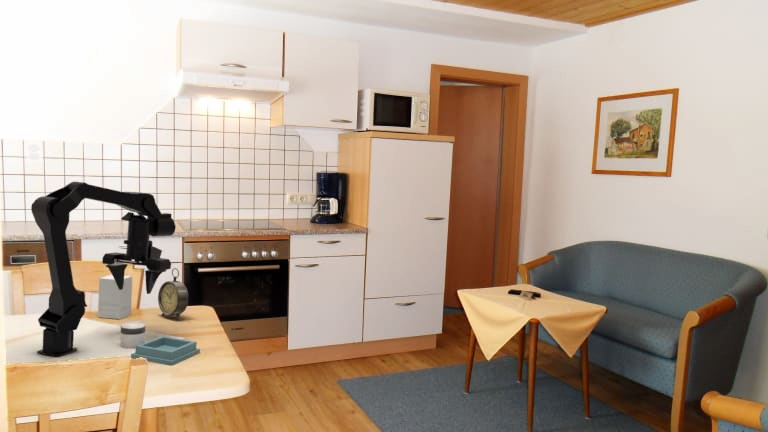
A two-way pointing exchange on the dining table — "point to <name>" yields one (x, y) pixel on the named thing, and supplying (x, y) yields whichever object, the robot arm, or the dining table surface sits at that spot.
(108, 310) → the supplement box
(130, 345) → the lens
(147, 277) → the robot arm
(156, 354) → the square tray
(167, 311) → the alarm clock
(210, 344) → the dining table surface
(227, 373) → the dining table surface
